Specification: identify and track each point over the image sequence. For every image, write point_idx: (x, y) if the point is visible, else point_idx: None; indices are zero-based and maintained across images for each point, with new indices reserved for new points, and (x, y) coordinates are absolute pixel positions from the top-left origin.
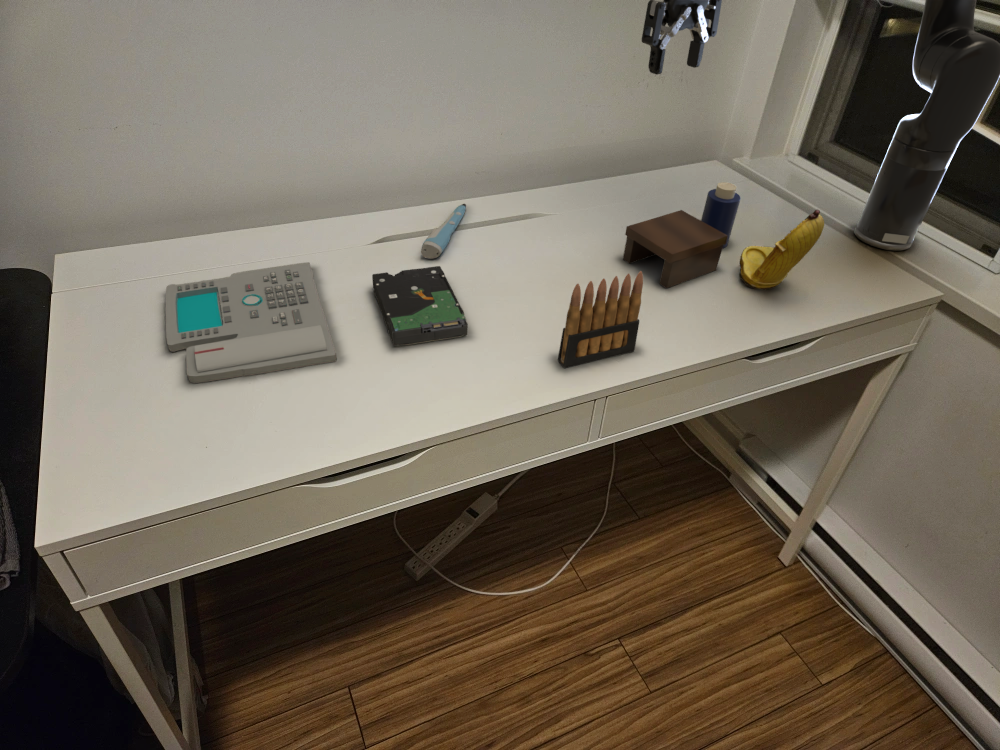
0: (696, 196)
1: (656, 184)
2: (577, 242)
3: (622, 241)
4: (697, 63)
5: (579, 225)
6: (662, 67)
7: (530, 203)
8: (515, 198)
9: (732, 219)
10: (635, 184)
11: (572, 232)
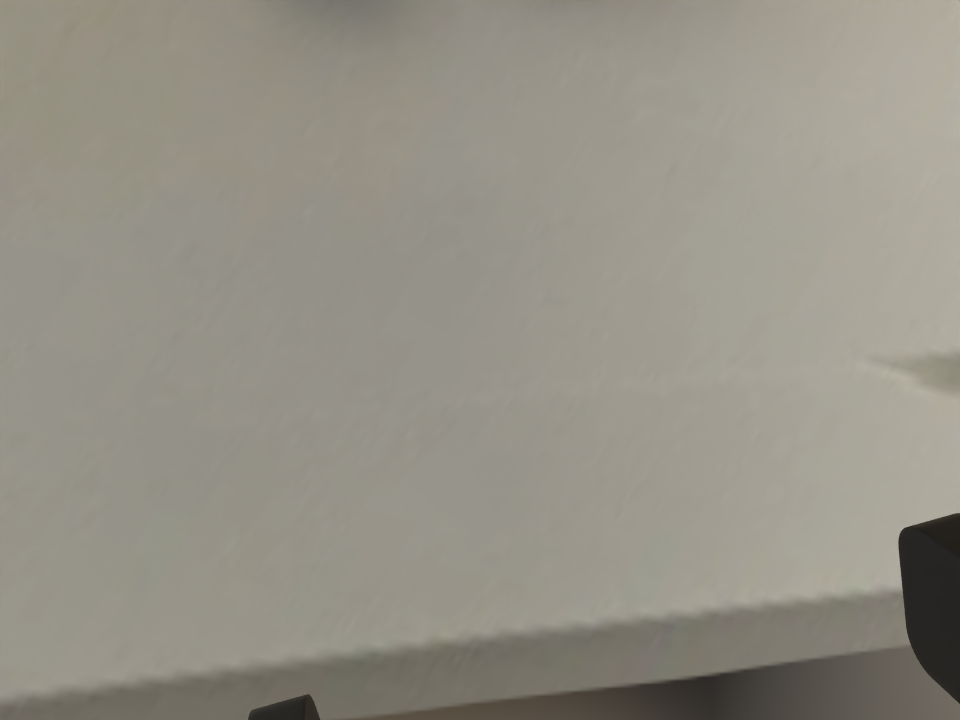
0: (144, 365)
1: (279, 530)
2: (918, 104)
3: (739, 50)
4: (298, 715)
5: (833, 241)
6: (957, 547)
7: (917, 478)
8: None
9: None
10: (382, 550)
11: (892, 192)
